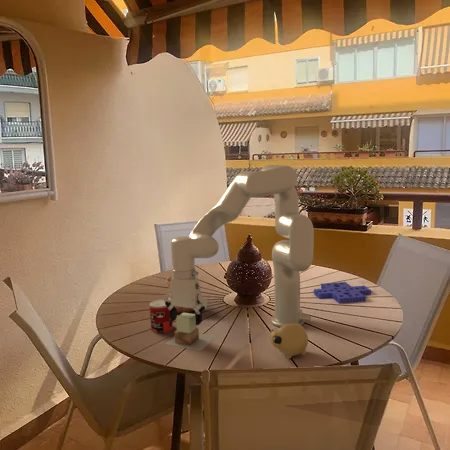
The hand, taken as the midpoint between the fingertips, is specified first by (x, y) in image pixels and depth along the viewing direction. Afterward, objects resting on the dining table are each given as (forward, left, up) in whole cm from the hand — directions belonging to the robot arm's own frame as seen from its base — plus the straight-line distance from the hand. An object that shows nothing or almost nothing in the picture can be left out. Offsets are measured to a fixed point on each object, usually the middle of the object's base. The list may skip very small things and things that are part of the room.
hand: (186, 322), depth 149 cm
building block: (-41, -69, -8) cm, 81 cm away
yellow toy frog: (-35, -4, -8) cm, 36 cm away
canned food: (+14, -6, -8) cm, 17 cm away
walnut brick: (0, 0, -7) cm, 7 cm away
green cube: (0, 0, -3) cm, 3 cm away
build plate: (-1, -1, -8) cm, 8 cm away
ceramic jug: (+17, -27, -8) cm, 33 cm away
